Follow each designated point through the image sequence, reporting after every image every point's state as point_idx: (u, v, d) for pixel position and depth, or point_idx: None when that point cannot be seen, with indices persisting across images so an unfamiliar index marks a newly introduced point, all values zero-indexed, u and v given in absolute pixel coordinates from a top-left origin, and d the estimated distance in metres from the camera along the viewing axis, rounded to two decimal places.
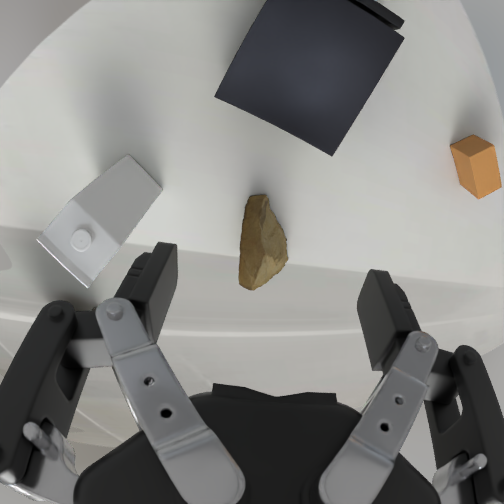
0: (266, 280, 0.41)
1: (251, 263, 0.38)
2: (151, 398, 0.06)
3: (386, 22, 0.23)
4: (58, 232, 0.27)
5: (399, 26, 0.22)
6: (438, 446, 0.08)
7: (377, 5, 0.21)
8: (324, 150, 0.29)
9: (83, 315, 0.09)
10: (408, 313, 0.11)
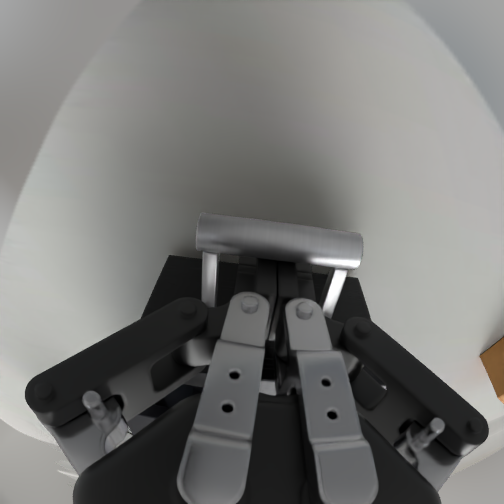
0: None
1: None
2: (225, 389, 0.07)
3: None
4: None
5: None
6: (374, 422, 0.09)
7: None
8: None
9: (209, 312, 0.10)
10: (306, 283, 0.12)
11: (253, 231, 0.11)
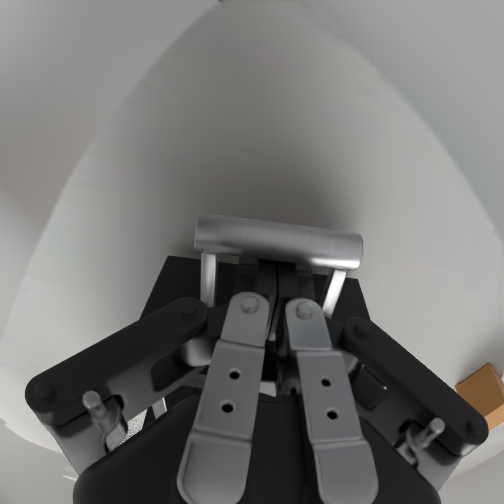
0: None
1: None
2: (225, 389, 0.07)
3: None
4: None
5: None
6: (374, 422, 0.09)
7: None
8: None
9: (209, 312, 0.10)
10: (306, 283, 0.12)
11: (252, 231, 0.11)
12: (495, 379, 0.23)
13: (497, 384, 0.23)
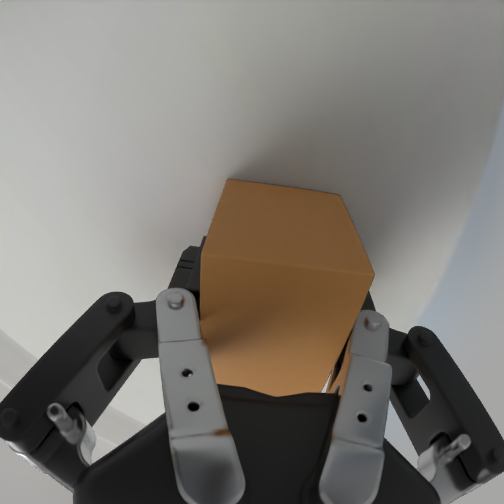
0: None
1: None
2: (184, 389, 0.06)
3: None
4: None
5: None
6: (412, 430, 0.08)
7: None
8: None
9: (139, 306, 0.10)
10: None
11: None
12: (349, 220, 0.11)
13: (352, 229, 0.10)
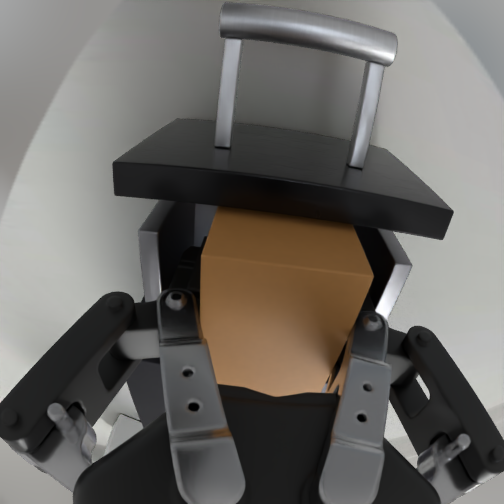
0: None
1: None
2: (184, 389, 0.06)
3: None
4: None
5: (441, 235, 0.10)
6: (411, 430, 0.08)
7: (375, 205, 0.09)
8: None
9: (139, 307, 0.10)
10: None
11: (282, 9, 0.08)
12: None
13: (352, 230, 0.10)
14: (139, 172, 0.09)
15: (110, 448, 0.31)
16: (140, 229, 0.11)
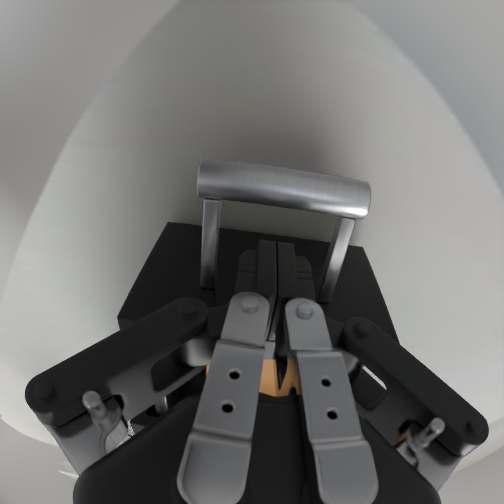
0: None
1: None
2: (225, 389, 0.07)
3: None
4: None
5: None
6: (374, 422, 0.09)
7: None
8: None
9: (209, 312, 0.10)
10: (306, 283, 0.12)
11: (257, 173, 0.10)
12: None
13: None
14: None
15: None
16: None
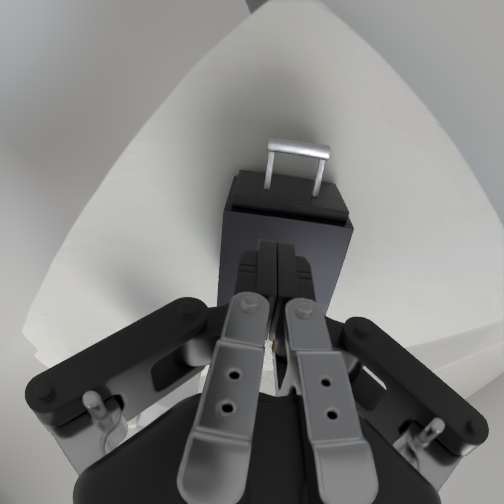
0: None
1: None
2: (225, 389, 0.07)
3: None
4: (147, 421, 0.40)
5: (345, 220, 0.31)
6: (374, 422, 0.09)
7: (318, 211, 0.30)
8: None
9: (209, 312, 0.10)
10: (306, 283, 0.12)
11: (289, 142, 0.29)
12: None
13: None
14: (242, 199, 0.30)
15: None
16: None
